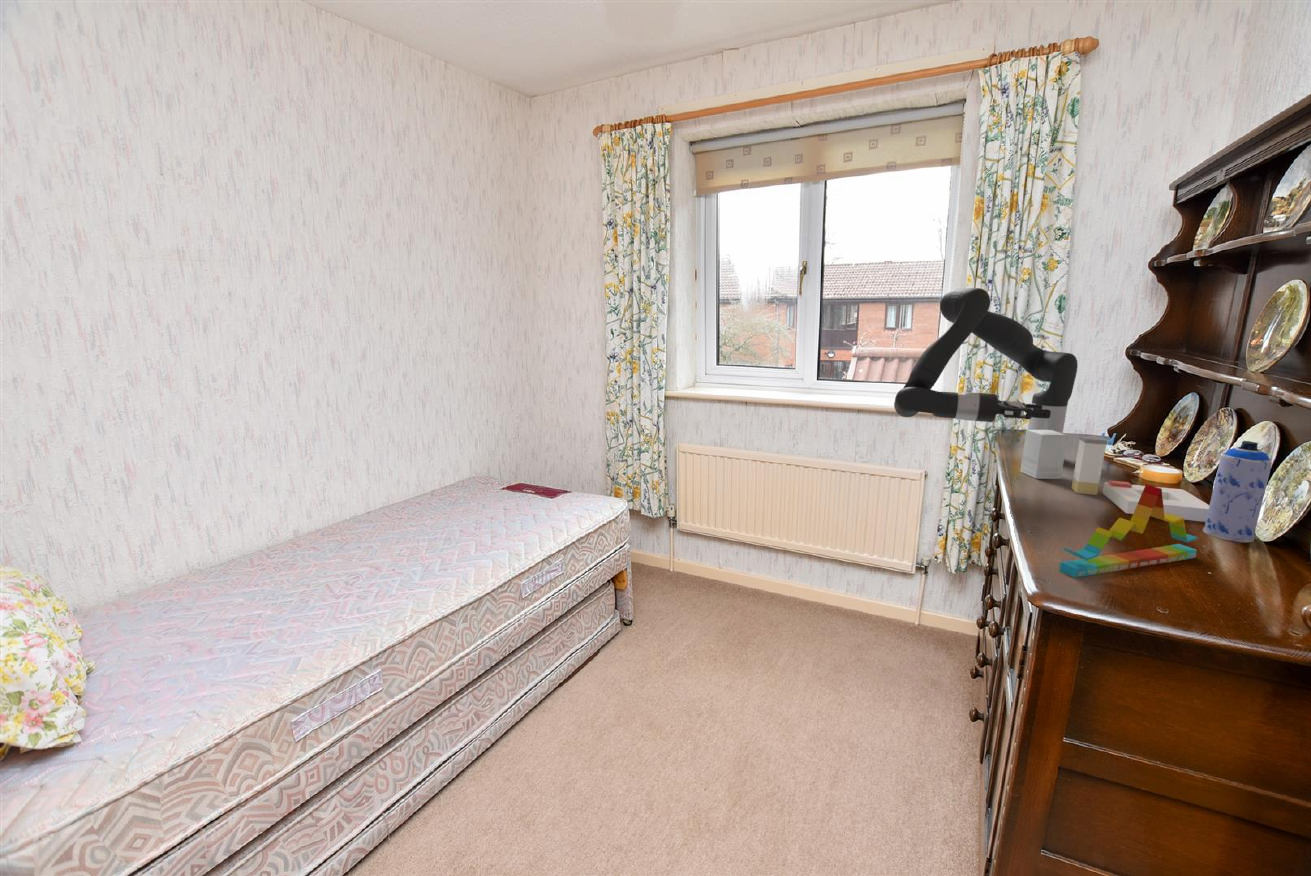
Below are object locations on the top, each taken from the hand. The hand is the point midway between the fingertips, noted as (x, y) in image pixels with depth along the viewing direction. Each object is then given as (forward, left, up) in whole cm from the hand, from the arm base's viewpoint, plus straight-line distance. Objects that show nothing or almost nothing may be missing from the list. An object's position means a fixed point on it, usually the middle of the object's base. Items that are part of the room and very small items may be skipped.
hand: (1045, 411), depth 150 cm
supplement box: (-13, +4, -20) cm, 25 cm away
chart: (+49, +5, -21) cm, 54 cm away
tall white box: (0, +11, -20) cm, 23 cm away
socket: (+8, +23, -20) cm, 32 cm away
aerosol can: (+24, +30, -20) cm, 44 cm away
